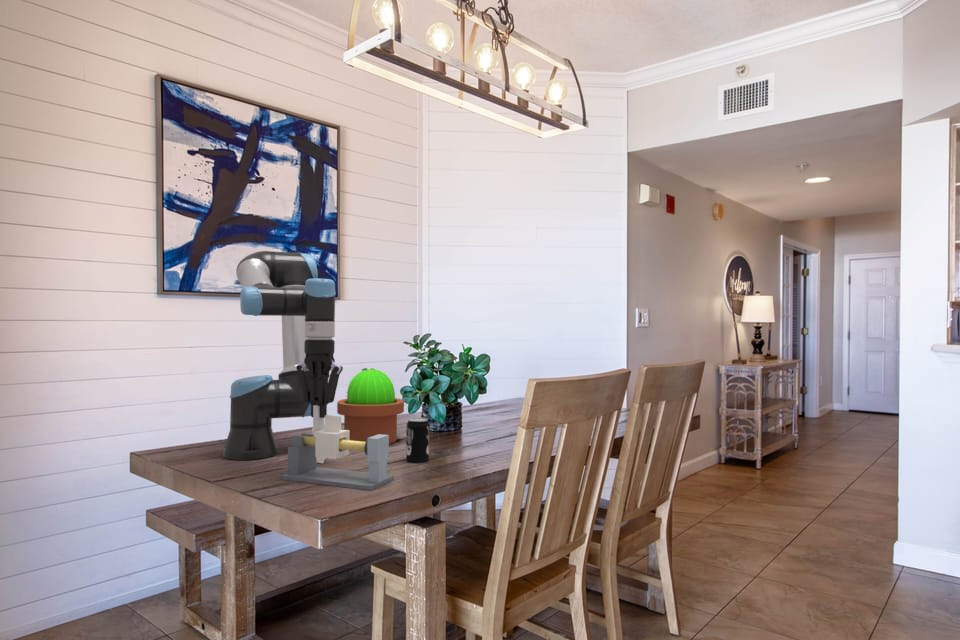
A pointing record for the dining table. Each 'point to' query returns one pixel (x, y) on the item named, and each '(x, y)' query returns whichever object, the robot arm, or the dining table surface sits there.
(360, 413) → the potted cactus
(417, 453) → the beverage can
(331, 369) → the robot arm
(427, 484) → the dining table surface
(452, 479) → the dining table surface
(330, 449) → the sleeve
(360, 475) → the grey rod stand
